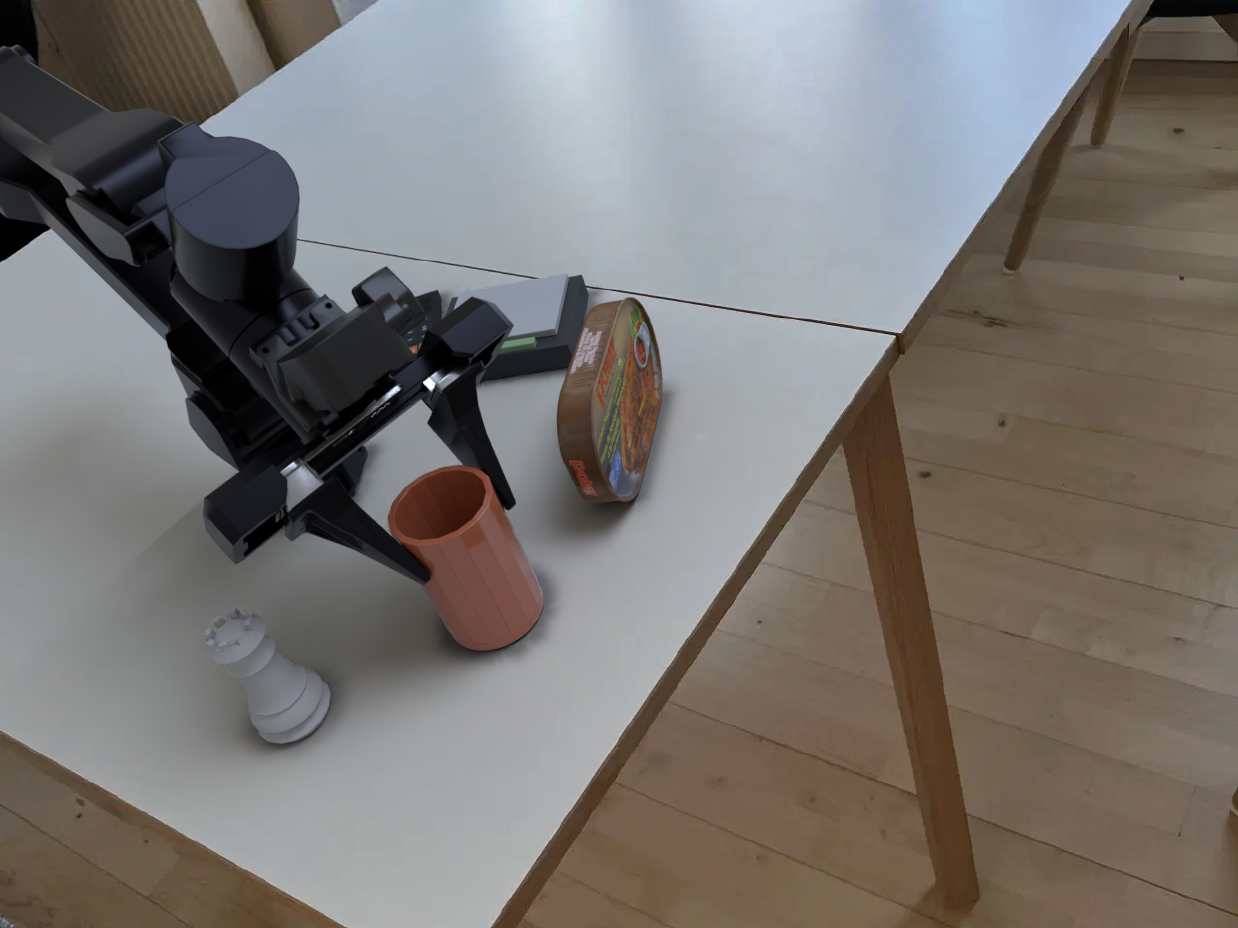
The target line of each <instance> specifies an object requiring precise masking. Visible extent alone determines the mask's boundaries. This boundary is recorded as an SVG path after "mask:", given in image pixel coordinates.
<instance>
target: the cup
mask: <svg viewBox="0 0 1238 928" xmlns="http://www.w3.org/2000/svg"><path fill="white" fill-rule="evenodd" d="M387 524H388V529H389V534H390V535H391V536H392V537H393V538H394V539H396V540H397V541H398V542H399V543H400V544H401V545H402V546H403V547H404V548H405V549H406V550H407V551H409V552H410V553H411V554H412V555H413V556H414V557H415V558H416V560H417V561H418V562H419V563H420V564H421V566H422V567H423V568H424V569H425V570H426V572H427V573H428V574H429V575H430V577H431V580H430V581H429V582H428V583H427V584H426V585H421V587H422V589H423V590H424V592H425V594H426V596H427V597H428V600H429V601H430V602H431V604H432V606H433V608H434V609H435V611H436V613H437V615H438V616H439V618H440V620H441V622H442V623H443V625H444V626H445V628H446V629H447V631H448V632H449V633H450V635H451V637H452V638H453V639H454V640H455V641H456V642H457V643H458V644H459V645H461V646H462V647H464V648H466V649H469V650H473V651H492V650H493V651H494V650H496V649H501V648H503V647H506V646H508V645H511V644H512V643H514V642H516V641H518V640H519V639H521V638H522V637H524V636H525V635H526V634H527V633H528V632H529V631H530V630H531V629H532V628H533V627H534V625H535V624H536V622H537V621H538V619H539V618H540V616H541V613H542V610H543V607H544V592H543V589H542V587H541V585H540V583H539V580H538V577H537V574H536V573H535V571H534V569H533V565H532V564H531V562H530V560H529V558H528V556H527V553H526V552H525V549H524V548H523V544H522V543H521V541H520V539H519V537H518V535H517V533H516V531H515V528H514V526H513V523H512V522H511V520H510V518H509V515H508V514H507V512H506V509H505V508H504V507H503V505H502V503H501V501H500V499H499V497H498V495H497V493H496V490H495V488H494V486H493V484H492V482H491V480H490V478H489V476H487V475H486V474H485V473H483V472H482V471H481V470H480V469H478V468H476V467H470V466H465V465H463V464H456V465H455V464H454V465H447V466H442V467H439V468H436V469H433V470H431V471H428V472H426V473H424V474H421V475H420V476H419V477H417V478H415V479H414V480H413V481H411V482H409V484H407V485H406V486H405V487H403V489H402V490H401V491H400V493H399V494H398V495H397V496H396V497H395V498H394V500H393V502H391V506H390V509H389V511H388V514H387Z"/></svg>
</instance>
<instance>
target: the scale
mask: <svg viewBox="0 0 1238 928" xmlns="http://www.w3.org/2000/svg"><path fill="white" fill-rule="evenodd" d="M472 296H473V297H476V298H480V299H484V300H487V301H489V302H492V303H494V304H495V305H496V306H497V307H498V308H499V309H500V310H501V311H502V312H503V314H504V315H505V316H506V317H507V318H508V319H509V320H510V321H511V322H512V323H513V325H514V326H513V328H512V330H511V332H510V333H509V335H508V337H507V339H506V341H505V342H504V344H503V346H502V348H501V349H500V351H499V353H498V355H497V356H496V358H495V359H494V360H493V361H492V362H491V363H490V364H489V365H488V366H487V367H486V371H485V373H484V375H483V376H482V378H481V380H480V381H481V382H482V381H487V380H494V379H500V378H507V377H513V376H520V375H525V374H531V373H532V374H533V373H538V372H544V371H545V372H546V371H551V370H558V369H563V368H568V367H569V364H570V361H571V358H572V355H573V352H574V349H575V346H576V343H577V340H578V338H579V335H580V332H581V329H582V326H583V323H584V320H585V318H586V314H587V313H586V312H587V308H588V307H587V306H588V301H589V296H590V294H589V291H588V289H587V286H586V282H585V279H584V277H583V274H577V275H573V276H568V273H561V274H555V275H549V276H544V277H539V278H533V279H527V280H522V281H515V282H511V283H505V284H499V285H494V286H488V287H482V288H476V289H472V290H466V291H460V292H459V293H458V296H454V297H451V299H450V301H449V304H448V307H447V310H446V313H445V316H446V315H448V314H449V313H450V312H452V311H453V310H454V309H456V308H457V307H458V306H460V305H461V304H462V303H464V302H465V301H466V300H468V299H469V298H470V297H472Z"/></svg>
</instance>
